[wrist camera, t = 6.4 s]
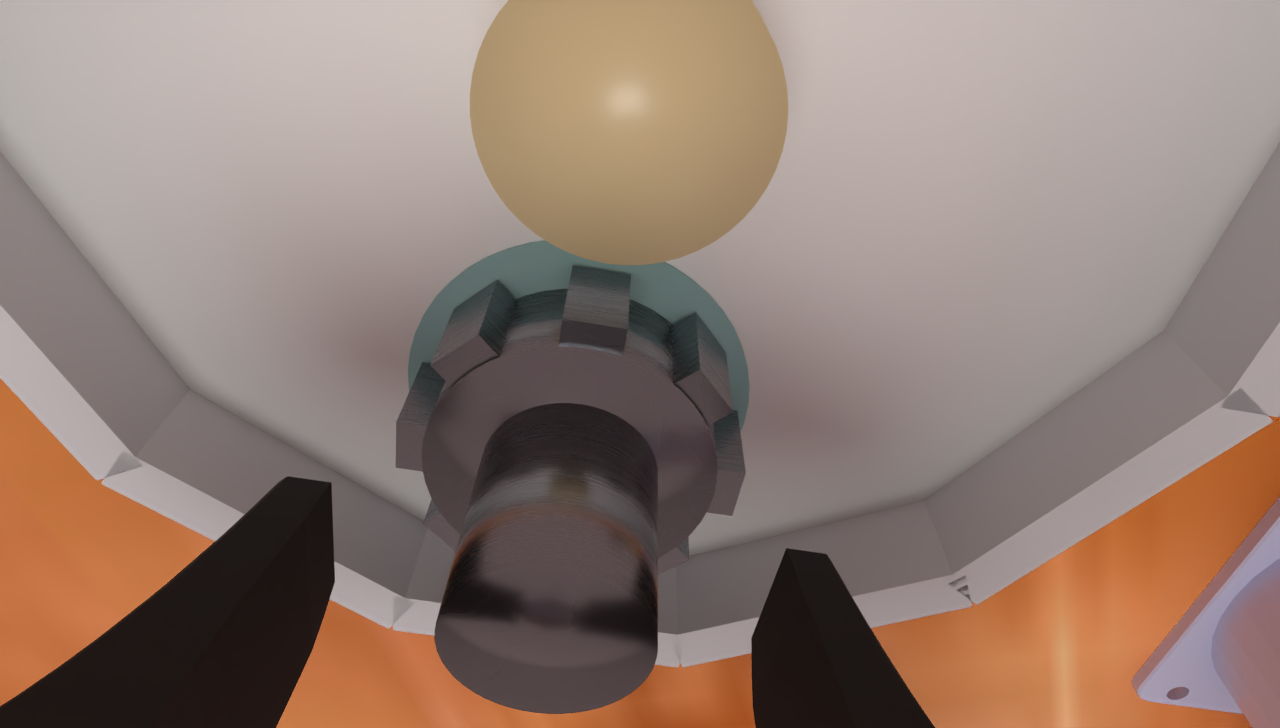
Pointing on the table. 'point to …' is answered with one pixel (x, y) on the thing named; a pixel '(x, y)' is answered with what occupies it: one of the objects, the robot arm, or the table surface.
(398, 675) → the table surface
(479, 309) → the planet gear
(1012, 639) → the table surface
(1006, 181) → the carrier
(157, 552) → the table surface
